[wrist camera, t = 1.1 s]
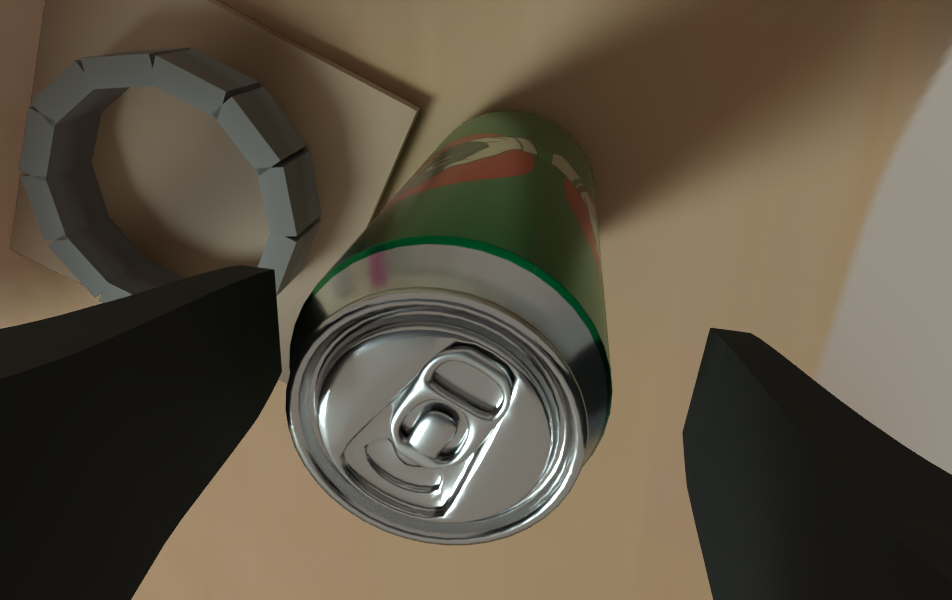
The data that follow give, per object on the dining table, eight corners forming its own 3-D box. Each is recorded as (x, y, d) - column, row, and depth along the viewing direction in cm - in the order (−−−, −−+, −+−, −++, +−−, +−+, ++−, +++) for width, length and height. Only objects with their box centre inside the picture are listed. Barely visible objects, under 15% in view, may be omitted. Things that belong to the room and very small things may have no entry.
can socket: (21, 244, 23) (-39, 272, 21) (69, -78, 18) (-3, -88, 16) (302, 381, 24) (273, 421, 22) (420, 108, 19) (399, 123, 17)
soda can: (400, 213, 21) (208, 458, 10) (484, 71, 18) (353, 188, 8) (533, 297, 21) (488, 613, 10) (629, 169, 19) (697, 404, 8)
